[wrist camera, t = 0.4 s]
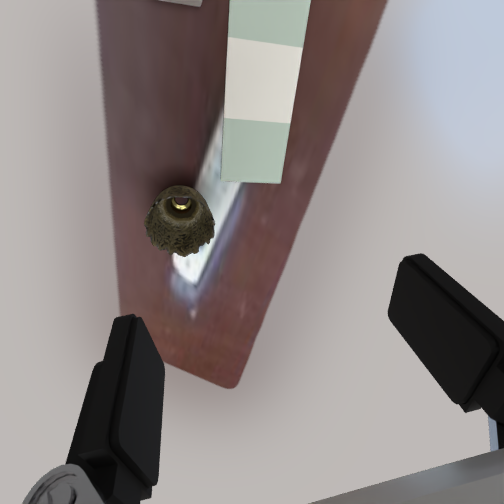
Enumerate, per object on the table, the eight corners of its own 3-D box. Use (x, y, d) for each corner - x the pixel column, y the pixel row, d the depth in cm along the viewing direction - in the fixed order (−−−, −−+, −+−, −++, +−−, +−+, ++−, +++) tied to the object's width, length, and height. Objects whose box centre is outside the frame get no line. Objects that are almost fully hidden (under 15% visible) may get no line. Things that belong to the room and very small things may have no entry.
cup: (177, 233, 41) (176, 267, 34) (138, 193, 36) (128, 224, 30) (220, 204, 39) (228, 233, 33) (185, 159, 35) (185, 183, 29)
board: (240, -217, 21) (241, -220, 21) (339, -183, 23) (341, -186, 23) (220, 180, 37) (220, 181, 37) (279, 182, 39) (280, 183, 39)
